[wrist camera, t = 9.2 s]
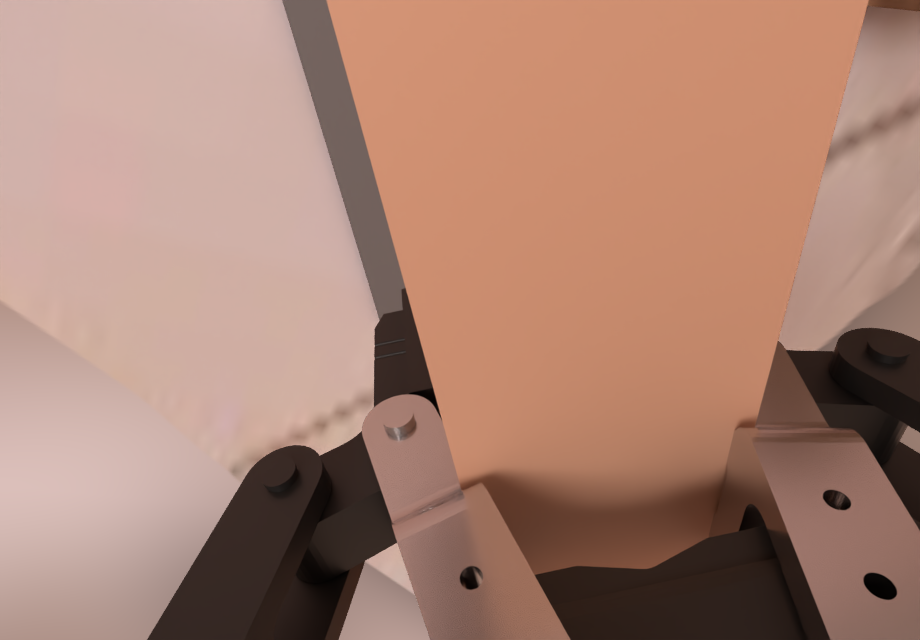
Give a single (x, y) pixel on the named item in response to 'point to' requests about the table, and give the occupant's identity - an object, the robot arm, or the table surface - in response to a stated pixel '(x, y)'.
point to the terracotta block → (598, 238)
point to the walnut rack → (896, 4)
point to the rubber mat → (347, 148)
